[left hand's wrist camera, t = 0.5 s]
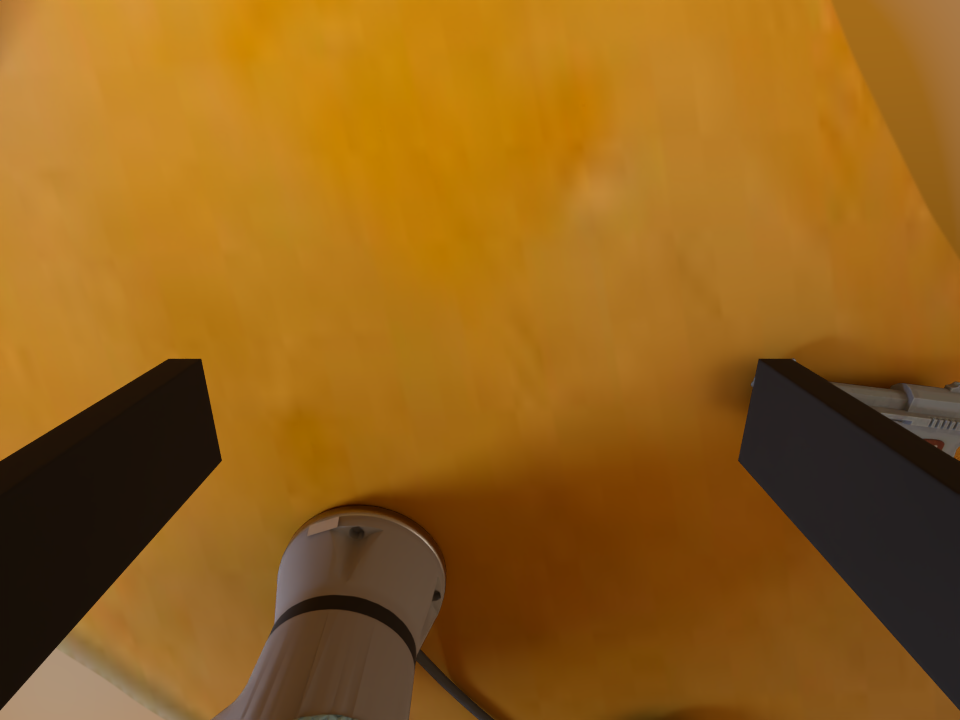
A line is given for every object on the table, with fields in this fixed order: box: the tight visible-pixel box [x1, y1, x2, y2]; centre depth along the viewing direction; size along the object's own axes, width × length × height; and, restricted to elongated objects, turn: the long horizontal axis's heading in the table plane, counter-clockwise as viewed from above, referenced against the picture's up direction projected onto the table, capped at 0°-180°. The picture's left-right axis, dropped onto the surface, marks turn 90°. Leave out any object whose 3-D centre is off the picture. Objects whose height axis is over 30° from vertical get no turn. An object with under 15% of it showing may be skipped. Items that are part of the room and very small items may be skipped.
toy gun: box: [751, 358, 960, 458], centre depth 42 cm, size 4×19×15 cm
